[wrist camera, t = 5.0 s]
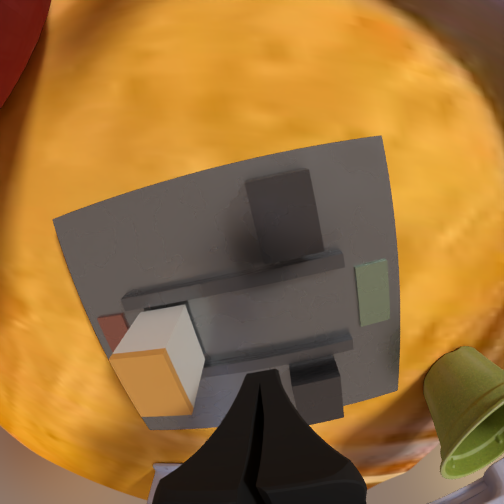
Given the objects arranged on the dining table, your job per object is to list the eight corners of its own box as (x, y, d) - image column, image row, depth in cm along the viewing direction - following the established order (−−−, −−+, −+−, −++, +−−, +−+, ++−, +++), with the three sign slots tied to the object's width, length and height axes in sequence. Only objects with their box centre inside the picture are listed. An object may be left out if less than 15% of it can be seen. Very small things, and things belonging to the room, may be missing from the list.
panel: (154, 417, 23) (143, 447, 20) (64, 214, 18) (34, 226, 15) (391, 378, 22) (406, 407, 18) (371, 136, 16) (396, 133, 13)
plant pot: (383, 403, 22) (416, 481, 14) (450, 313, 20) (515, 379, 12) (446, 416, 24) (480, 476, 15) (503, 342, 21) (554, 394, 13)
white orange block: (162, 364, 19) (141, 416, 14) (140, 312, 18) (108, 359, 13) (205, 359, 19) (191, 414, 14) (185, 304, 18) (162, 354, 13)
